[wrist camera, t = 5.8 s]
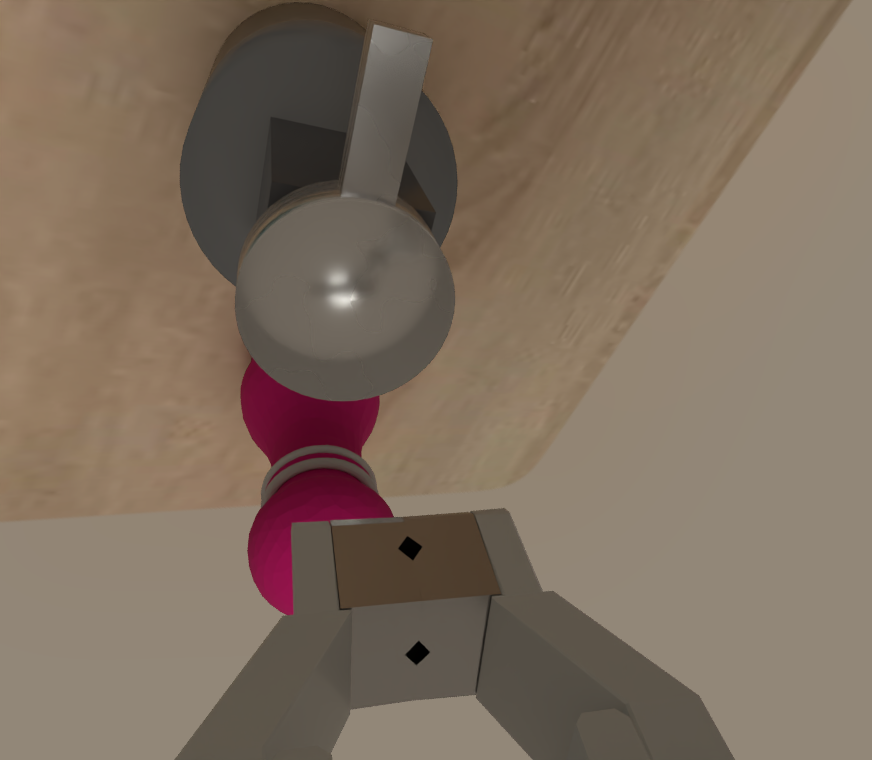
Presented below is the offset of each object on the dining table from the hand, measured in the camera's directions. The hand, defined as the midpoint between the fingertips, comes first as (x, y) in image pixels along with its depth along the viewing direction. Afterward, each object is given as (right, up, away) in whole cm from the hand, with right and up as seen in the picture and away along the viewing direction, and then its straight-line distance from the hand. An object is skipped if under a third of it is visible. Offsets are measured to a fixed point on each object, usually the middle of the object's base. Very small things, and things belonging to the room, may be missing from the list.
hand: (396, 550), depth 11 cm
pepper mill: (-7, +4, +33) cm, 34 cm away
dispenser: (-6, +16, +26) cm, 31 cm away
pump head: (-3, +10, +13) cm, 17 cm away
